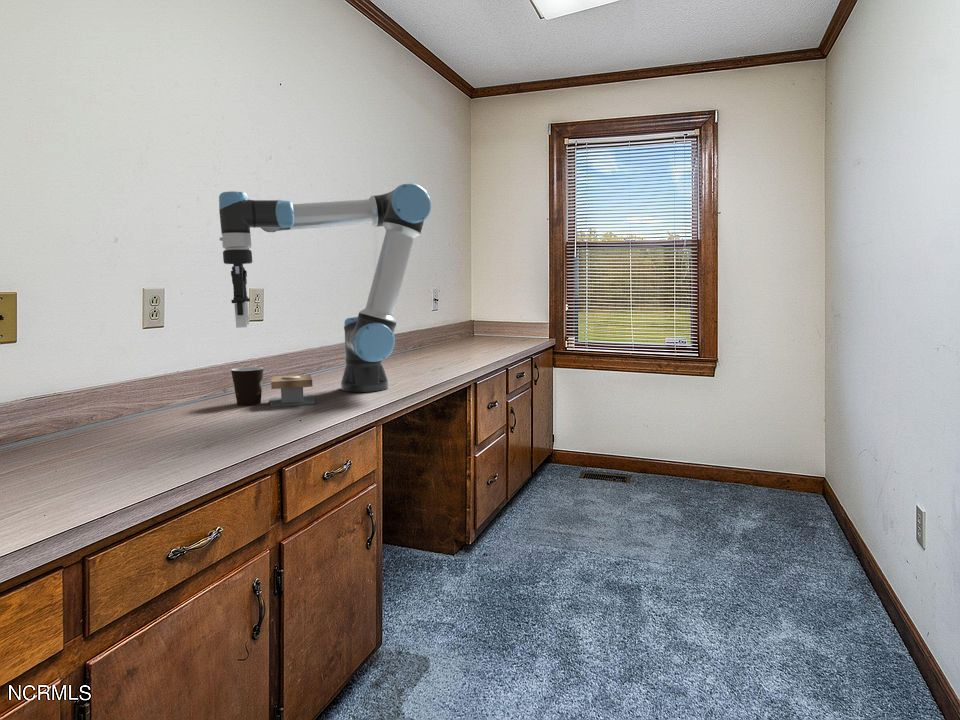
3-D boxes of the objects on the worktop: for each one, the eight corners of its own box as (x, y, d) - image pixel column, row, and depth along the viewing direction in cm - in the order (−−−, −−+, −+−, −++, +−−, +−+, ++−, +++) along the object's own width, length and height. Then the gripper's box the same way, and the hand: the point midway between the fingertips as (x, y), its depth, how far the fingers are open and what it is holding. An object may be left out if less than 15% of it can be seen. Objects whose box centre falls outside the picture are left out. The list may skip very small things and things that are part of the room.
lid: (310, 381, 192) (310, 373, 191) (312, 386, 181) (312, 378, 181) (271, 383, 188) (271, 375, 188) (271, 388, 178) (271, 380, 178)
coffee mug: (254, 406, 179) (252, 371, 178) (226, 405, 180) (224, 370, 179) (275, 399, 190) (274, 365, 189) (249, 398, 192) (247, 365, 191)
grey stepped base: (312, 397, 193) (312, 380, 192) (315, 404, 181) (314, 386, 181) (270, 399, 189) (269, 383, 189) (270, 407, 178) (269, 389, 177)
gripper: (226, 251, 189) (232, 324, 192) (218, 247, 165) (225, 329, 168) (253, 251, 191) (258, 322, 194) (249, 246, 167) (255, 327, 170)
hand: (243, 326), depth 181 cm, fingers open, 13 cm apart
